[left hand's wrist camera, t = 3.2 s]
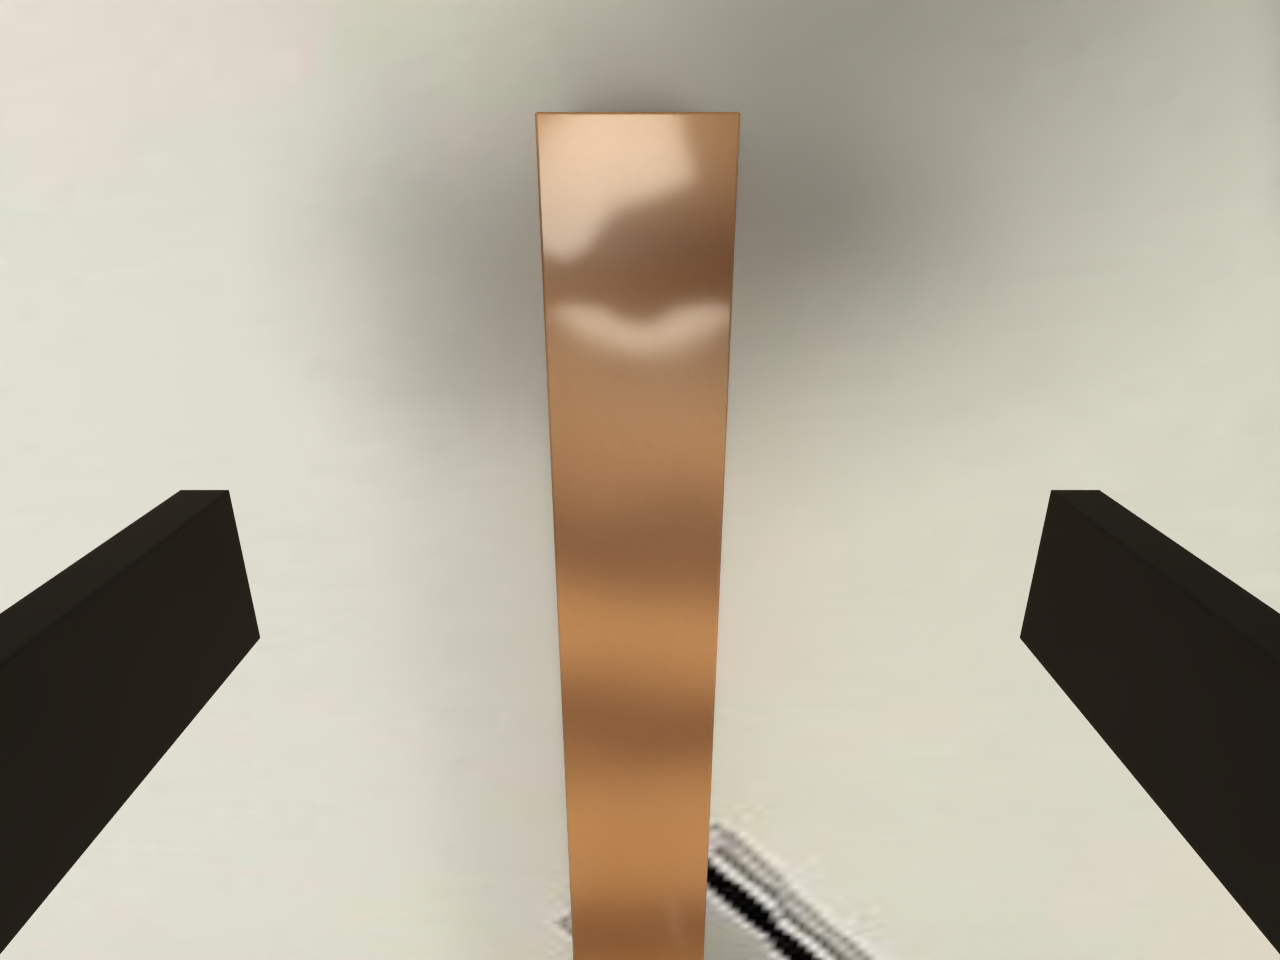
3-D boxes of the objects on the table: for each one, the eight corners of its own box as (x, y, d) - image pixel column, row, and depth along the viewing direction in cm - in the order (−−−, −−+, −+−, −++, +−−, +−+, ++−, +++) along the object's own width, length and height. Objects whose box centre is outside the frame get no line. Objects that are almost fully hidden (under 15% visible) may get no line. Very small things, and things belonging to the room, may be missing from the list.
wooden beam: (562, 128, 29) (534, 111, 21) (713, 128, 29) (740, 111, 21) (597, 1153, 52) (589, 1320, 45) (680, 1154, 52) (687, 1320, 45)
